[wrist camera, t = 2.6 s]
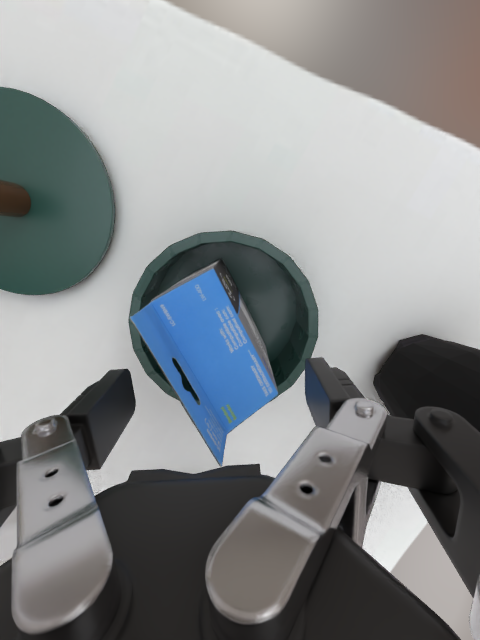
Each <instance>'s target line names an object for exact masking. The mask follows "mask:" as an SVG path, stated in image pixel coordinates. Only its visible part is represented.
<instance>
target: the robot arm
mask: <svg viewBox="0 0 480 640" xmlns="http://www.w3.org/2000/svg"><path fill="white" fill-rule="evenodd" d="M305 395H306V401H307V405H308V407H309V410H310V412H311V415H312V417H313V420H314V422H315V425H316V426H315V427H314V428H313V430H312V431H311V432H310V434H309V435H308V436H307V437H306V439H305V440H304V441H303V443H302V444H301V445H300V447H299V448H298V449H297V451H296V452H295V453H294V454H293V456H292V457H291V458H290V460H289V461H288V462H287V464H286V465H285V466H284V468H283V469H282V470H281V471H280V473H279V474H278V475H277V477H276V478H274V477H270V476H267V475H261V474H260V464H251V465H232V466H225V467H221V468H217V469H213V470H209V471H205V472H201V473H197V474H189V473H183V472H177V471H171V470H165V469H156V470H137V471H132V472H131V474H130V476H129V478H128V480H127V482H124V483H121V484H118V485H115V486H113V487H111V488H108V489H106V490H104V491H103V492H101V493H99V494H97V495H96V496H94V494H93V491H92V488H91V484H90V481H89V478H88V475H87V472H86V470H96V469H100V468H101V467H102V465H103V464H104V462H105V460H106V459H107V457H108V455H109V454H110V452H111V450H112V449H113V447H114V445H115V444H116V442H117V440H118V439H119V437H120V435H121V434H122V432H123V430H124V429H125V427H126V425H127V424H128V422H129V421H130V419H131V417H132V416H133V414H134V411H135V405H136V401H135V395H134V390H133V384H132V379H131V374H130V371H129V370H128V369H117V370H110V371H108V372H107V374H106V375H105V376H104V377H103V378H102V379H101V380H100V381H98V382H96V383H94V384H92V385H91V386H89V387H87V388H86V389H85V390H84V391H83V392H82V393H81V395H79V396H78V397H77V398H76V399H75V401H73V402H72V403H71V404H70V405H69V406H68V407H67V408H66V409H65V410H64V411H63V412H62V413H61V414H60V415H54V416H49V417H46V418H43V419H40V420H38V421H36V422H34V423H32V424H31V425H29V426H28V427H27V428H26V429H25V430H24V431H23V432H22V434H21V437H20V438H16V439H12V440H7V441H3V442H0V527H1V526H2V525H3V523H4V522H5V521H6V519H7V518H8V517H9V516H10V514H11V513H12V512H13V510H14V509H15V508H16V506H17V546H16V549H14V551H13V555H12V558H11V559H9V560H8V561H7V562H5V563H4V564H3V565H1V566H0V640H461V639H460V638H459V637H458V636H457V635H456V633H455V632H454V631H453V630H452V629H451V628H450V627H449V625H447V624H446V623H445V622H444V621H443V620H442V619H441V618H440V617H439V616H438V615H437V614H436V613H435V612H434V611H433V610H431V609H430V608H429V607H428V606H427V605H426V604H425V603H424V602H422V601H421V600H420V599H419V598H418V597H417V596H416V595H414V594H413V593H412V592H411V591H410V590H409V589H407V587H405V586H404V585H403V584H402V583H401V582H400V581H399V580H398V579H396V578H395V577H394V576H393V575H392V574H391V573H390V572H388V571H387V570H386V569H385V568H384V567H383V566H382V565H381V564H379V563H378V562H377V561H376V560H375V559H374V558H373V557H372V556H370V555H369V554H368V553H367V552H366V551H365V550H364V549H362V545H363V540H364V534H365V529H366V526H367V522H368V520H369V517H370V514H371V511H372V508H373V505H374V502H375V499H376V496H377V494H378V491H379V488H380V485H381V481H382V482H386V483H391V484H396V485H401V486H406V487H408V489H409V491H410V492H411V494H412V496H413V497H414V499H415V501H416V502H417V504H418V506H419V507H420V509H421V511H422V513H423V514H424V516H425V518H426V519H427V521H428V523H429V524H430V526H431V528H432V529H433V531H434V533H435V534H436V536H437V538H438V540H439V541H440V543H441V545H442V546H443V548H444V549H445V551H446V553H447V555H448V556H449V558H450V560H451V561H452V563H453V565H454V567H455V568H456V570H457V572H458V573H459V575H460V577H461V578H462V580H463V582H464V583H465V585H466V587H467V589H468V590H469V592H470V594H471V595H472V597H473V602H472V607H471V611H470V616H469V624H470V630H471V633H472V636H473V639H474V640H480V432H479V431H478V430H477V429H475V428H474V427H473V426H472V425H471V424H470V423H469V422H468V421H466V420H465V419H464V418H463V417H462V416H460V415H458V414H457V413H455V412H452V411H450V410H447V409H443V408H439V407H429V406H428V407H421V408H419V409H417V410H416V412H415V417H414V419H409V418H401V417H395V416H390V415H387V411H386V409H385V408H384V407H383V406H382V405H381V404H379V403H378V402H375V401H373V400H370V399H365V398H364V397H363V395H362V394H361V393H360V391H359V390H358V389H357V388H356V386H355V385H354V384H353V382H352V381H351V380H350V378H349V377H348V376H347V375H346V373H345V372H343V371H341V370H340V369H338V368H330V367H329V366H328V364H327V363H326V361H325V360H324V358H307V359H306V360H305Z"/></svg>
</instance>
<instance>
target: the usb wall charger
mask: <svg viewBox="0 0 480 640" xmlns="http://www.w3.org/2000/svg"><path fill="white" fill-rule="evenodd" d="M16 546H17V506H16V508H15V509H14V510H13V512H12V513H11V514H10V516H9V517H8V518H7V519H6V521H5V522H4V523H3V525H2V526H1V527H0V562H3V561H7V560H9V559H11V558H12V555H13V551H14V549H16Z"/></svg>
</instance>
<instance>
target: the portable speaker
mask: <svg viewBox="0 0 480 640" xmlns="http://www.w3.org/2000/svg"><path fill="white" fill-rule="evenodd" d="M373 384H374V386H375V388H376V391H377V393H378V395H379V397H380V399H381V400H382V401H383V402H384V404H385V406H386V408H387V409H388V411H389V413H390V414H391V415H390V416H395V417H401V418H409V419H414V417H415V412H416V410H417V409H419V408H421V407H428V406H429V407H439V408H443V409H447V410H450V411H452V412H455V413H457V414H458V415H460V416H462V417H463V418H464V419H465V420H466V421H468V422H469V423H470V424H471V425H472V426H473V427H474V428H475V429H477V430H478V431H479V432H480V350H478V349H475V348H472V347H468V346H465V345H461V344H458V343H454V342H450V341H444V340H441V339H438V338H434V337H431V336H427V335H424V334H422V335H418V336H414V337H410V338H407V339H403V340H400V341H399V343H398V345H397V347H396V349H395V350H394V352H393V353H392V355H391V356H390V357H389V359H388V360H387V361H386V362H385V364H384V365H383V367H382V369H381V371H380V373H379V374H378V375H375V378H374V382H373Z"/></svg>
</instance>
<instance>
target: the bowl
mask: <svg viewBox="0 0 480 640" xmlns="http://www.w3.org/2000/svg"><path fill="white" fill-rule="evenodd" d="M220 258H222V259H223V261H224V263H225V264H226V266H227V268H228V270H229V272H230V274H231V276H232V278H233V280H234V282H235V284H236V286H237V288H238V290H239V292H240V294H241V296H242V298H243V300H244V302H245V304H246V306H247V308H248V311H249V313H250V315H251V317H252V319H253V321H254V323H255V325H256V327H257V329H258V331H259V333H260V335H261V337H262V339H263V341H264V343H265V345H266V349H267V354H268V359H269V362H270V365H271V369H272V372H273V376H274V379H275V382H276V386H277V390H278V395H277V396H279V395H280V394H282V393H283V392H284V391H286V390H287V389H288V388H290V387H291V386H292V385H293V384H294V383H295V381H296V380H297V379H298V377H299V376H300V375H301V373H302V372H303V371H304V370H305V360H306V359H307V358H311V356H312V353H313V350H314V347H315V344H316V341H317V338H318V308H317V305H316V302H315V299H314V296H313V293H312V290H311V287H310V284H309V282H308V279H307V278H306V277H305V276H304V274H303V273H302V272H301V270H300V269H299V268H298V266H297V265H296V264H295V263H294V261H293V260H292V259H291V257H289V256H288V255H287V254H285V253H284V252H282V251H281V250H279V249H278V248H276V247H275V246H273V245H272V244H270V243H269V242H267V241H266V240H263V239H262V238H258V237H254V236H250V235H247V234H243V233H239V232H235V231H219V232H204V233H198V234H196V235H193V236H191V237H188V238H186V239H184V240H181V241H179V242H177V243H174V244H172V245H171V246H169V247H168V248H166V249H165V250H164V251H163V252H162V253H161V254H160V255H159V256H158V257H157V258H155V259H154V260H153V261H152V262H151V263H150V264H149V265H148V267H146V269H145V271H144V273H143V275H142V276H141V278H140V280H139V282H138V284H137V286H136V288H135V289H134V291H133V295H132V301H131V308H130V314H129V328H130V334H131V339H132V345H133V349H134V352H135V354H136V355H137V357H138V359H139V361H140V363H141V365H142V367H143V368H144V370H145V372H146V374H147V375H148V376H149V377H150V378H151V379H152V380H153V381H154V382H155V383H156V384H157V385H158V386H159V387H160V388H161V389H162V390H163V391H164V392H165V393H167V394H168V395H170V396H172V397H174V398H175V399H177V400H179V399H178V397H177V396H176V394H175V392H174V391H173V389H172V387H171V385H170V384H169V382H168V381H167V379H166V377H165V376H164V374H163V372H162V370H161V369H160V367H159V365H158V364H157V362H156V361H155V359H154V357H153V355H152V354H151V352H150V351H149V349H148V347H147V346H146V344H145V342H144V341H143V339H142V337H141V336H140V334H139V332H138V331H137V329H136V327H135V326H134V324H133V322H132V321H131V320H130V316H133V315H134V314H136V313H137V312H138V311H140V310H141V309H143V308H144V307H145V306H146V305H148V304H149V303H150V302H151V300H152V299H153V298H155V297H156V296H158V295H160V294H161V293H163V292H164V291H166V290H167V289H169V288H170V287H172V286H173V285H174V284H176V283H177V282H179V281H180V280H181V279H183V278H184V277H186V276H187V275H189V274H191V273H193V272H195V271H197V270H198V269H200V268H202V267H204V266H206V265H208V264H210V263H212V262H214V261H216V260H218V259H220ZM172 361H173V364H174V366H175V367H176V369H177V370H178V372H179V373H180V375H181V378H182V385H183V387H184V389H185V390H186V391H189V392H190V393H191V394H192V396H193V398H194V400H195V401H196V402H197V404H198V405H200V401H199V398H198V396H197V394H196V393H195V391H194V390H193V388H192V386H191V385H190V383H189V381H188V379H187V377H186V376H185V374H184V372H183V371H182V369H181V367H180V366H179V364H178V362H177V361H176V359H175V358H172ZM277 396H276V397H277ZM276 397H274V398H273V399H275V398H276ZM273 399H272V400H273ZM272 400H271V401H272ZM179 401H180V400H179ZM269 402H270V401H269Z"/></svg>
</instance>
